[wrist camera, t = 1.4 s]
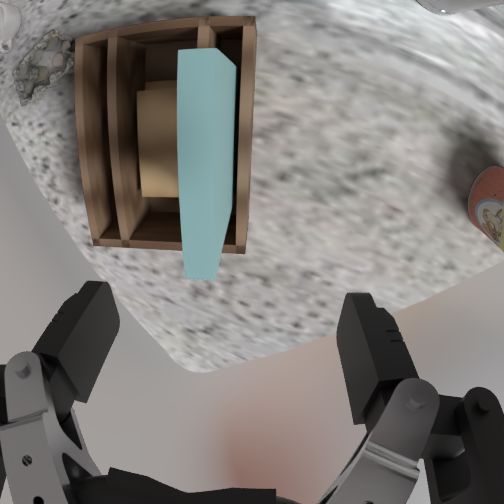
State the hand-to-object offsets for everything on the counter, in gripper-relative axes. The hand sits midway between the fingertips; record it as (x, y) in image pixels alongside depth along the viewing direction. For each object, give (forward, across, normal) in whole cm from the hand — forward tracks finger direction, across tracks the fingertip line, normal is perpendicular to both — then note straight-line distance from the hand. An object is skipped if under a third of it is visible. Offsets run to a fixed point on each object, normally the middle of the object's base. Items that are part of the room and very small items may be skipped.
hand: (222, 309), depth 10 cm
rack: (+30, +9, -2) cm, 31 cm away
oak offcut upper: (+26, +9, -1) cm, 28 cm away
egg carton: (+30, +29, -14) cm, 44 cm away
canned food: (+30, -39, +4) cm, 50 cm away
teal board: (+28, +2, -2) cm, 29 cm away
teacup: (+30, +37, -23) cm, 53 cm away
